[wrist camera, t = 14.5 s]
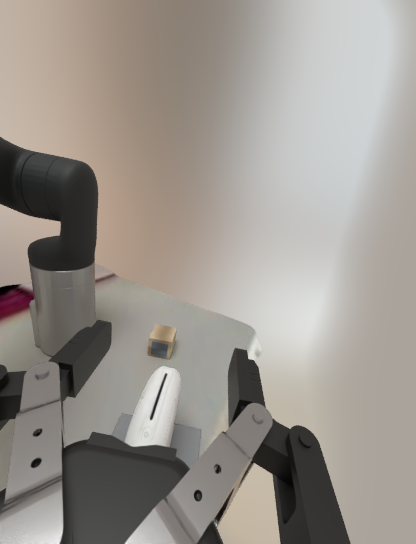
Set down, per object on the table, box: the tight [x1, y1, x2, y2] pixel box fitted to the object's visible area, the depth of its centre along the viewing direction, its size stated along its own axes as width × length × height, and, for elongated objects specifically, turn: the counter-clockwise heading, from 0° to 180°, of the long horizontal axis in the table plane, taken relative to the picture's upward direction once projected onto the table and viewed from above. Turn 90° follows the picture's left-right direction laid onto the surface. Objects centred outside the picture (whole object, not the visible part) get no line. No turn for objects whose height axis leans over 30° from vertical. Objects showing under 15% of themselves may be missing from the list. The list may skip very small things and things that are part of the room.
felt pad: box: [112, 413, 201, 469], centre depth 28 cm, size 12×10×1 cm
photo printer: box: [124, 366, 181, 447], centre depth 25 cm, size 10×4×12 cm, turn 175°
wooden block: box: [148, 324, 177, 359], centre depth 45 cm, size 4×5×4 cm
